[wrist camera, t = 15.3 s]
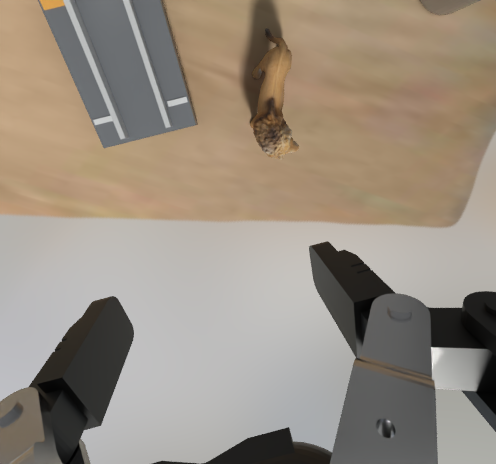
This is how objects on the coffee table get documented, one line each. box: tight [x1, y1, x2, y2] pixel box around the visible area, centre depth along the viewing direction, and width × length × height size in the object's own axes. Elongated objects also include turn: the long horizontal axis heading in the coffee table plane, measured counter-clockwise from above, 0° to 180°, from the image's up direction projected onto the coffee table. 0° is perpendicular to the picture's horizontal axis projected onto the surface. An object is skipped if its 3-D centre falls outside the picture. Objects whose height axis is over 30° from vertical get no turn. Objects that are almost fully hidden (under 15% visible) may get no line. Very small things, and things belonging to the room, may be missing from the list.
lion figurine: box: [250, 28, 299, 159], centre depth 31 cm, size 15×5×9 cm, turn 3°
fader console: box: [38, 0, 198, 148], centre depth 29 cm, size 12×22×4 cm, turn 13°
